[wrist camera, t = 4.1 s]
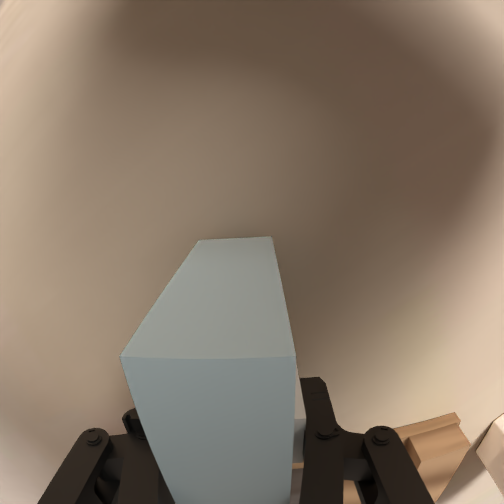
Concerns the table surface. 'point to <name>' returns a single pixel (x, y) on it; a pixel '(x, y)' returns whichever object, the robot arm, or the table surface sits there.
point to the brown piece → (415, 456)
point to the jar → (494, 452)
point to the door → (219, 376)
